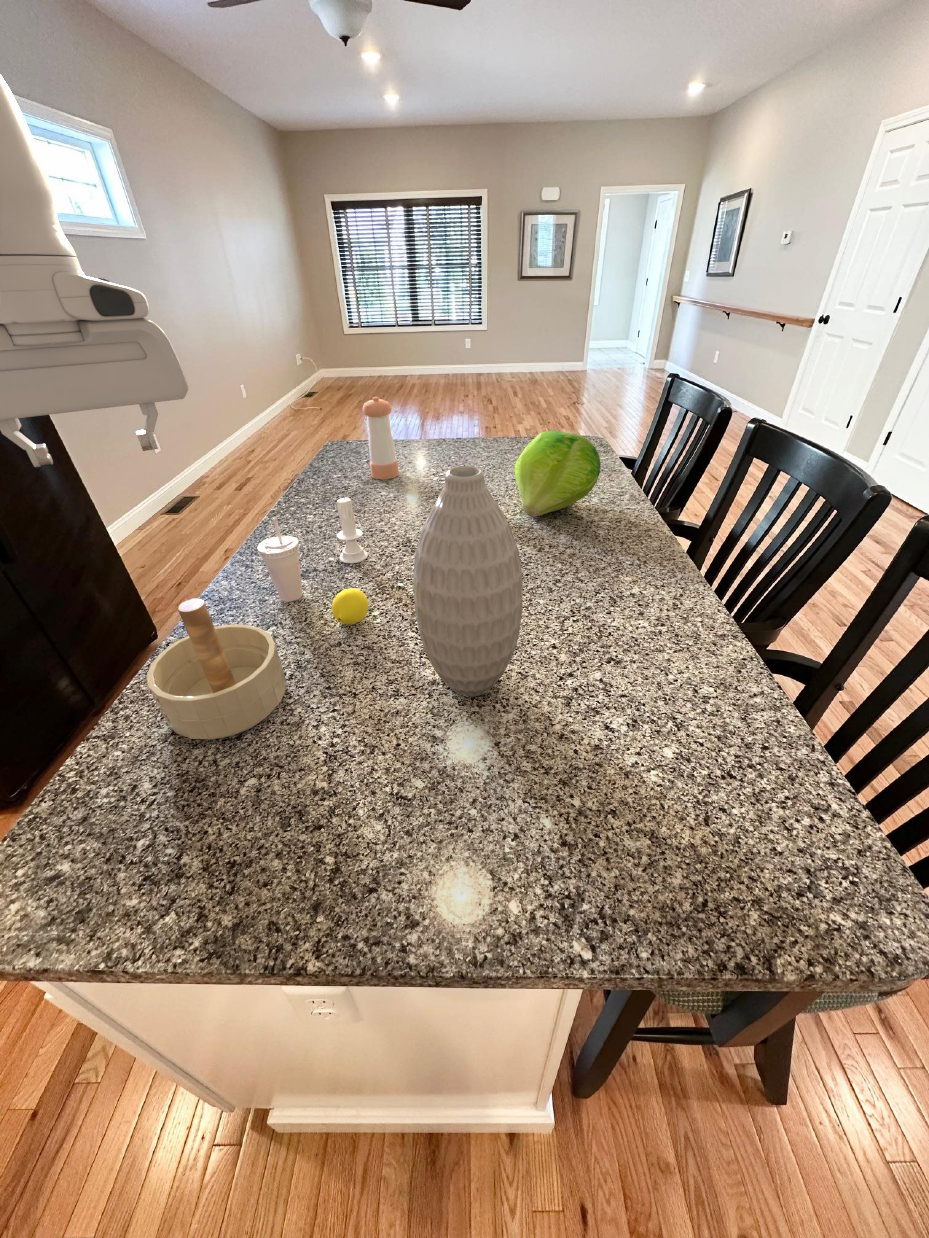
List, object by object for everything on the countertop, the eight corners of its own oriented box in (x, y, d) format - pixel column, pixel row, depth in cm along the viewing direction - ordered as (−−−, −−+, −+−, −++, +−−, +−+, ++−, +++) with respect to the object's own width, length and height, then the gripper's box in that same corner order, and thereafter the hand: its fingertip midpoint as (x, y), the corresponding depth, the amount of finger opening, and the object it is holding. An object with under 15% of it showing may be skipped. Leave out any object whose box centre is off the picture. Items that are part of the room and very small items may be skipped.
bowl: (176, 762, 58) (152, 719, 54) (162, 689, 68) (142, 648, 64) (301, 712, 64) (288, 669, 60) (271, 652, 74) (259, 612, 70)
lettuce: (488, 503, 116) (502, 465, 100) (536, 442, 121) (557, 396, 105) (549, 547, 116) (573, 516, 100) (594, 483, 121) (625, 444, 105)
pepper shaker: (366, 478, 133) (355, 400, 122) (377, 469, 139) (367, 393, 128) (393, 480, 131) (384, 400, 120) (402, 470, 137) (394, 394, 126)
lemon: (348, 606, 83) (342, 577, 80) (378, 611, 82) (373, 582, 79) (326, 631, 78) (319, 601, 75) (357, 636, 77) (352, 606, 74)
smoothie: (313, 600, 85) (294, 522, 77) (273, 609, 83) (250, 530, 75) (308, 582, 90) (290, 507, 82) (270, 590, 88) (248, 514, 80)
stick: (218, 706, 64) (179, 614, 56) (214, 693, 66) (176, 603, 58) (241, 698, 65) (206, 606, 57) (236, 685, 67) (202, 595, 59)
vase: (495, 728, 61) (496, 503, 45) (404, 697, 66) (375, 483, 50) (533, 665, 70) (545, 460, 54) (451, 642, 75) (439, 447, 59)
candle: (373, 554, 98) (365, 494, 91) (354, 566, 94) (343, 504, 88) (353, 548, 101) (343, 489, 94) (333, 559, 97) (321, 499, 90)
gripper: (-138, 304, 38) (-34, 484, 46) (162, 294, 47) (208, 447, 55) (-114, 303, 43) (-23, 467, 51) (156, 293, 52) (199, 435, 59)
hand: (99, 456), depth 53 cm, fingers open, 8 cm apart
